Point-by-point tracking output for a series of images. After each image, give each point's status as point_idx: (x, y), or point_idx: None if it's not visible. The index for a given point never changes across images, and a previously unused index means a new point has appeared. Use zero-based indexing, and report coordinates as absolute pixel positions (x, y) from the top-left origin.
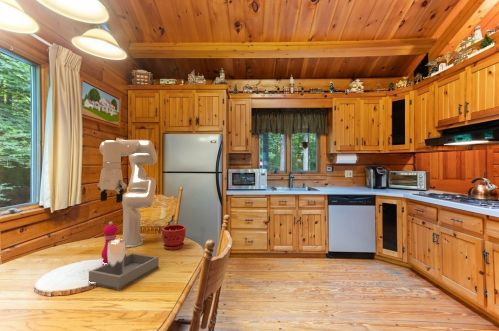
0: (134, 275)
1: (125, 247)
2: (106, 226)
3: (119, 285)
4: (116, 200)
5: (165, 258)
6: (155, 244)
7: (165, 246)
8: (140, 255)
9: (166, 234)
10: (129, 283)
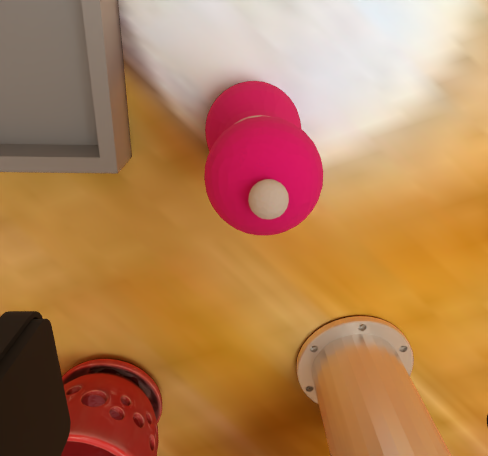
0: None
1: None
2: (284, 155)
3: None
4: (11, 335)
5: (27, 266)
6: (233, 396)
7: (122, 368)
8: (34, 156)
9: (76, 413)
10: None
